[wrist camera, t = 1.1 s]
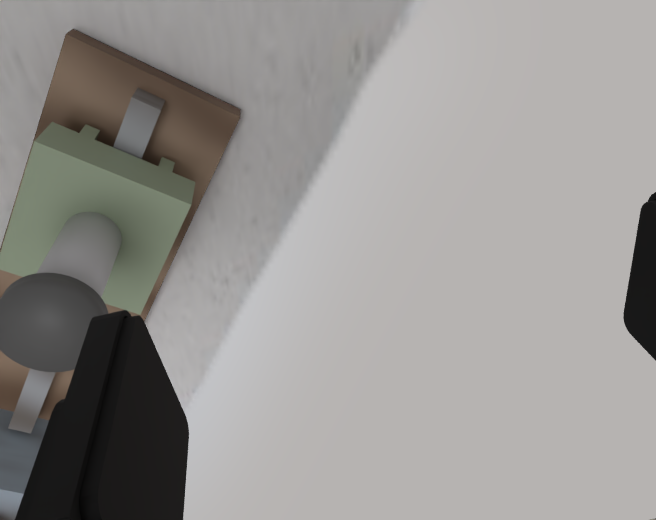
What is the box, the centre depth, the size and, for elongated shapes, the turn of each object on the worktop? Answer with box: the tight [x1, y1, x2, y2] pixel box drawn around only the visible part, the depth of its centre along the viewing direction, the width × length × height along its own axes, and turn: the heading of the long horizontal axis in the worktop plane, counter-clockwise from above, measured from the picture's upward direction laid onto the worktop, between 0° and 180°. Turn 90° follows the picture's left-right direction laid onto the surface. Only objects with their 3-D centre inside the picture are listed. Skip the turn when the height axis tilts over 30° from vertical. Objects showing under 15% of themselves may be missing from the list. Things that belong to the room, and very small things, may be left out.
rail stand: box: [0, 29, 240, 520], centre depth 37 cm, size 37×10×8 cm, turn 151°
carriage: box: [0, 122, 195, 372], centre depth 29 cm, size 8×8×13 cm
